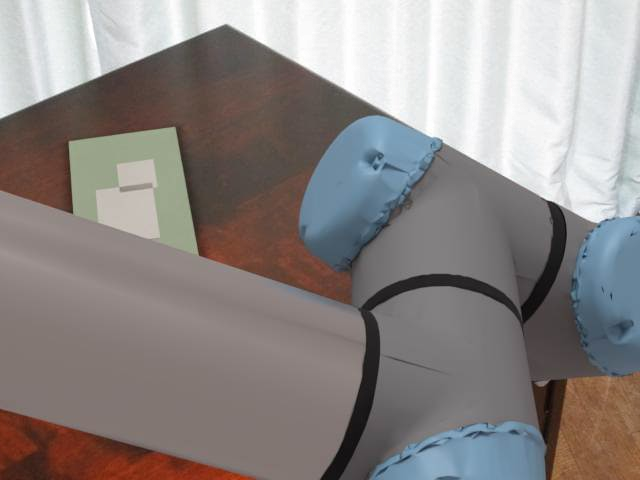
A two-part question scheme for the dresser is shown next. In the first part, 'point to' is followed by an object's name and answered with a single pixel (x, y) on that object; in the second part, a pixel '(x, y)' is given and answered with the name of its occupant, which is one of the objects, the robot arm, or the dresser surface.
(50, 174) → the dresser surface
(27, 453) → the dresser surface
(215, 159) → the dresser surface
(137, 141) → the chalk board
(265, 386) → the robot arm
